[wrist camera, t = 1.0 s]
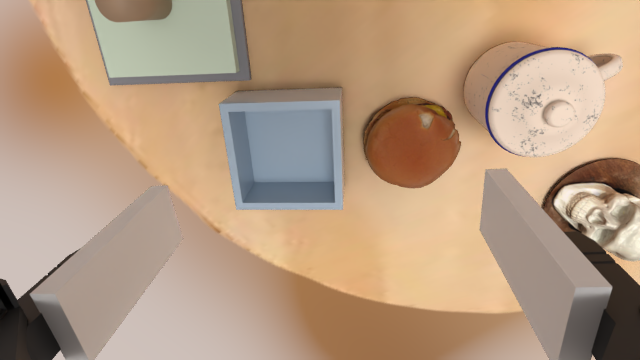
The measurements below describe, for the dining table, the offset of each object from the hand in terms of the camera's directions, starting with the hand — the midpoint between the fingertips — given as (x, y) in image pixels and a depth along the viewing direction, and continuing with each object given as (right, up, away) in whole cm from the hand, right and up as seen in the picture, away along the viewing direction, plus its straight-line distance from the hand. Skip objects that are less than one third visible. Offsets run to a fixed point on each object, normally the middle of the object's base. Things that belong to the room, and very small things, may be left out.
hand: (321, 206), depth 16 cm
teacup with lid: (+20, +11, +23) cm, 33 cm away
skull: (+32, -2, +28) cm, 42 cm away
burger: (+10, +6, +26) cm, 29 cm away
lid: (-16, +19, +22) cm, 33 cm away
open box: (-3, +6, +27) cm, 28 cm away
